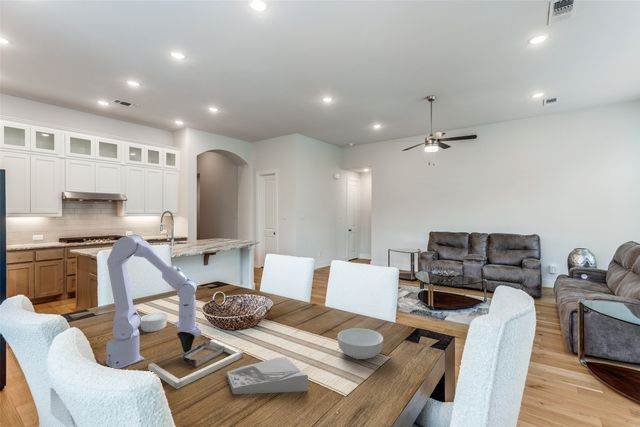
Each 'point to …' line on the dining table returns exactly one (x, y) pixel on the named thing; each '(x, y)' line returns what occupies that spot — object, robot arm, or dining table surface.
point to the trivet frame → (202, 372)
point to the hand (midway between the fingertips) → (187, 351)
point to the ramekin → (153, 322)
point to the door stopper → (268, 377)
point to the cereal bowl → (360, 343)
